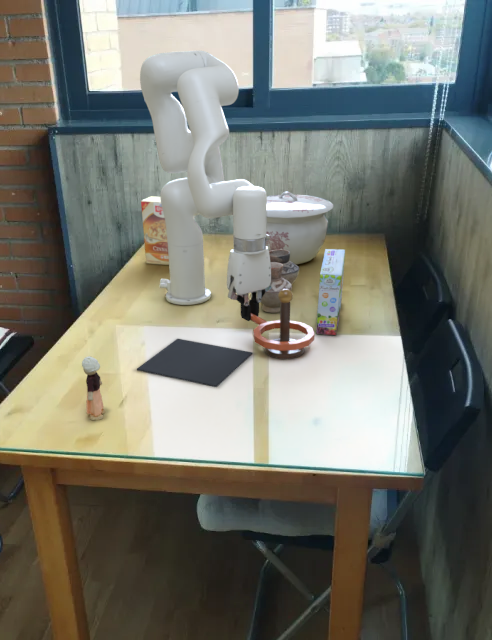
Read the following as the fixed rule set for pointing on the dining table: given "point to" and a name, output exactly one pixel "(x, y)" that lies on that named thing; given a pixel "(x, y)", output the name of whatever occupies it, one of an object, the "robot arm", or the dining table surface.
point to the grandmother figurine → (93, 389)
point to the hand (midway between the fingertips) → (249, 317)
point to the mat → (195, 362)
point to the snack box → (330, 291)
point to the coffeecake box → (154, 231)
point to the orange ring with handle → (278, 345)
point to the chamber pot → (297, 225)
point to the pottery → (279, 279)
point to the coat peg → (284, 328)
